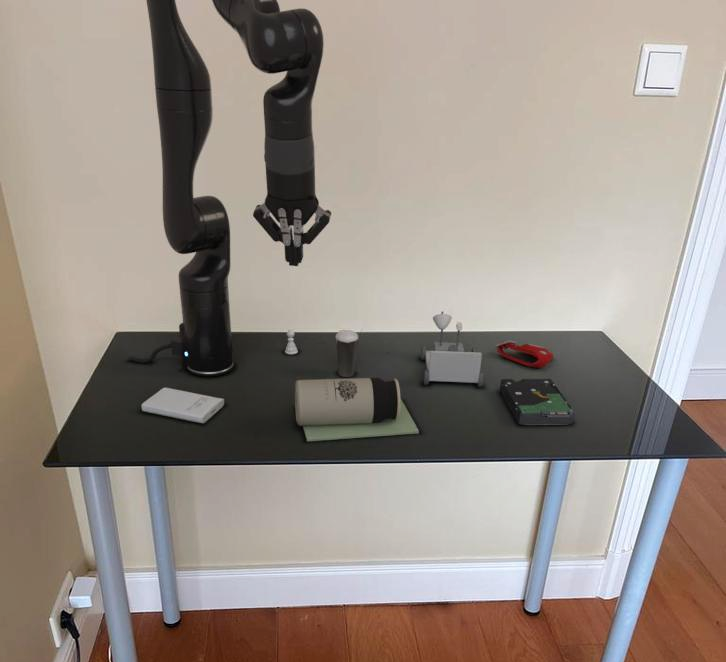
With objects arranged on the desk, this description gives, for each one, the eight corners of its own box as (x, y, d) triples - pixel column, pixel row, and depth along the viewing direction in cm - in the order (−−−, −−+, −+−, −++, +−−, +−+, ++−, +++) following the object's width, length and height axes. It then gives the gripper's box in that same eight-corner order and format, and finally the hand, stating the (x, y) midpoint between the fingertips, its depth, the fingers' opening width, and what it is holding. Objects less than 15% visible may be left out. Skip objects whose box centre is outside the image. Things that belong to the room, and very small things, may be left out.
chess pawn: (289, 355, 162) (288, 333, 159) (282, 351, 164) (281, 329, 161) (300, 353, 164) (300, 330, 161) (293, 348, 166) (293, 326, 163)
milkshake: (358, 380, 153) (360, 333, 148) (332, 377, 154) (333, 330, 148) (363, 371, 157) (364, 324, 151) (337, 368, 158) (338, 322, 152)
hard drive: (165, 394, 145) (224, 405, 142) (142, 412, 138) (202, 424, 135) (165, 386, 144) (224, 397, 141) (140, 404, 137) (202, 416, 134)
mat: (307, 441, 131) (307, 439, 131) (296, 407, 142) (296, 405, 142) (418, 433, 135) (419, 431, 135) (400, 401, 146) (400, 398, 145)
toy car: (423, 308, 161) (478, 310, 161) (420, 351, 166) (473, 354, 166) (428, 340, 146) (488, 343, 146) (424, 387, 151) (482, 389, 151)
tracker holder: (544, 345, 169) (565, 352, 160) (538, 365, 170) (559, 373, 161) (494, 335, 165) (513, 341, 156) (489, 355, 167) (507, 362, 157)
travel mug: (294, 405, 139) (391, 401, 142) (297, 435, 134) (398, 431, 136) (294, 370, 133) (395, 368, 136) (297, 400, 128) (402, 397, 130)
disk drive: (498, 391, 151) (519, 426, 138) (499, 378, 149) (521, 412, 137) (548, 390, 152) (574, 425, 140) (550, 377, 151) (576, 411, 138)
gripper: (336, 154, 118) (336, 255, 131) (252, 147, 119) (260, 249, 131) (329, 175, 113) (330, 278, 125) (241, 168, 114) (251, 272, 126)
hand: (294, 263), depth 128 cm, fingers closed
